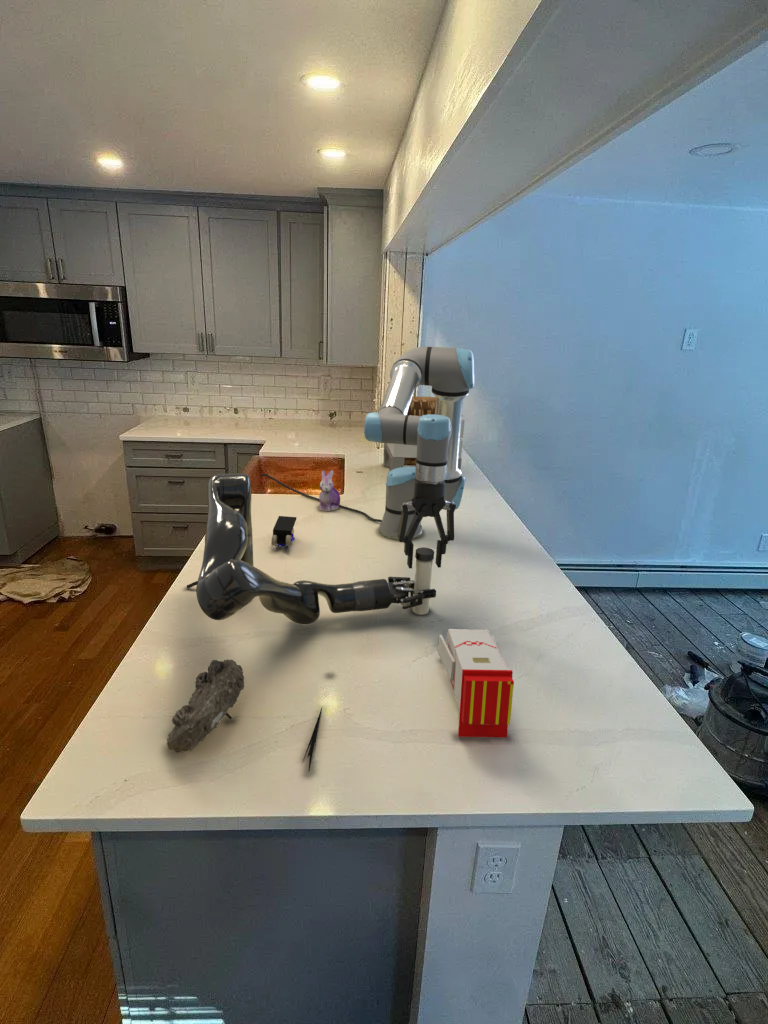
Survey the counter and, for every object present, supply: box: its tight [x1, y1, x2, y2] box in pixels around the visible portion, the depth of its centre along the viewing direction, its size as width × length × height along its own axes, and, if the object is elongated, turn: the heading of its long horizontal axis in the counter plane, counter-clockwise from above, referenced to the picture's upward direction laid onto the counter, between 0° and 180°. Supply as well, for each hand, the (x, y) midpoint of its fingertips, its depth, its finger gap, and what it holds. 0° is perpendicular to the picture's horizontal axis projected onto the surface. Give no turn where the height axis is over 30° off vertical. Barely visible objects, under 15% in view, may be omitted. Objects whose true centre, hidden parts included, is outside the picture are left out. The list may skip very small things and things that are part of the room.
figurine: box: [318, 469, 341, 512], centre depth 220 cm, size 9×10×15 cm
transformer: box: [383, 395, 465, 472], centre depth 268 cm, size 34×33×41 cm
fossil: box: [166, 658, 245, 754], centre depth 106 cm, size 22×10×15 cm
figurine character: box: [270, 515, 297, 551], centre depth 186 cm, size 7×8×15 cm
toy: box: [437, 628, 515, 738], centre depth 117 cm, size 12×13×30 cm
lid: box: [414, 546, 435, 561], centre depth 144 cm, size 5×5×2 cm
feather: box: [301, 673, 332, 771], centre depth 108 cm, size 2×28×2 cm
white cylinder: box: [412, 558, 434, 616], centre depth 147 cm, size 4×4×16 cm
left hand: (431, 588), depth 148 cm, fingers closed on white cylinder, 4 cm apart
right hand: (423, 565), depth 145 cm, fingers open, 7 cm apart
